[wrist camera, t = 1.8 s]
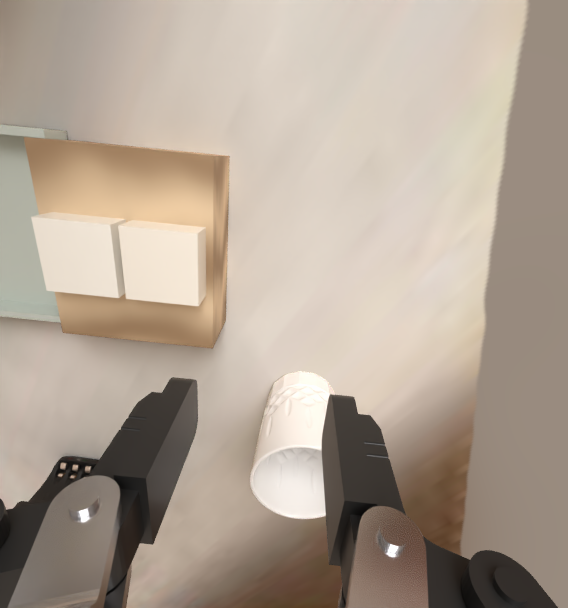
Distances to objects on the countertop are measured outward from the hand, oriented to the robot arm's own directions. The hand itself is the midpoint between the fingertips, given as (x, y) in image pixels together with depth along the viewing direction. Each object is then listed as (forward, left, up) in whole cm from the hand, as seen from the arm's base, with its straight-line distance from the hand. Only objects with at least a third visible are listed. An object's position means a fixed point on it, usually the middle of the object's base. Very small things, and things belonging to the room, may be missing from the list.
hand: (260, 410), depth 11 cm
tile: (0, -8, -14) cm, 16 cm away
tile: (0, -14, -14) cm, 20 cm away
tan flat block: (0, -11, -19) cm, 22 cm away
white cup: (+15, +3, -20) cm, 25 cm away
